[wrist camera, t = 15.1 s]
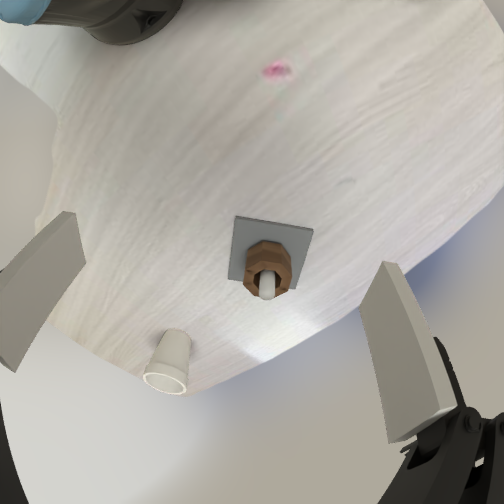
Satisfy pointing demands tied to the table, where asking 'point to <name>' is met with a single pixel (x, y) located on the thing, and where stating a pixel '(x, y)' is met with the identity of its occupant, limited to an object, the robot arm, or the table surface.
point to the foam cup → (170, 363)
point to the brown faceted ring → (268, 267)
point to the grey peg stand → (286, 235)
